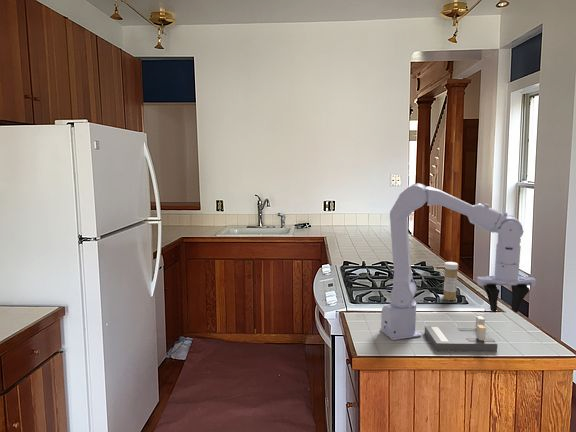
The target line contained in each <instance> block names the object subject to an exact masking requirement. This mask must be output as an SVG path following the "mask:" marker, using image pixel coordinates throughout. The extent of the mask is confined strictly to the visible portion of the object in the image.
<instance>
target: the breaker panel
mask: <svg viewBox="0 0 576 432" xmlns="http://www.w3.org/2000/svg"><path fill="white" fill-rule="evenodd" d="M476 330H477V328H476V325H470V326H469V325H425V326H424V335H425V336H426V337H427V339H428V341H429V342H430V344H431V345H432V347H433V348H434V350H435V351H436V352H479V353H481V352H483V353H484V352H489V353H491V352H492V353H493V352H496V353H497V352H498V343H497V341H495V339H494V338H492V337H491V336H490V335H489V334H488V333H487V332H486V335H485V340H479V339H478V338H477V337H476Z"/></svg>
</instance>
